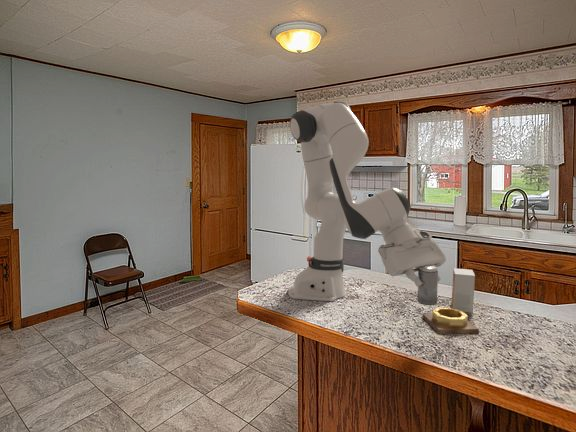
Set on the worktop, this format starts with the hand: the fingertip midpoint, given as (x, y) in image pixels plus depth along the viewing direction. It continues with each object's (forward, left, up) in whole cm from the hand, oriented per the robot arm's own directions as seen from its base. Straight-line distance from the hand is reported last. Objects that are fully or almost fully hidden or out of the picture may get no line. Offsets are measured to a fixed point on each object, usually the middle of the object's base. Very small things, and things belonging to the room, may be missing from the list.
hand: (429, 283), depth 98 cm
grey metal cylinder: (0, +1, -5) cm, 6 cm away
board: (+12, +12, -17) cm, 24 cm away
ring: (+12, +12, -16) cm, 23 cm away
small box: (+23, +26, -17) cm, 38 cm away
